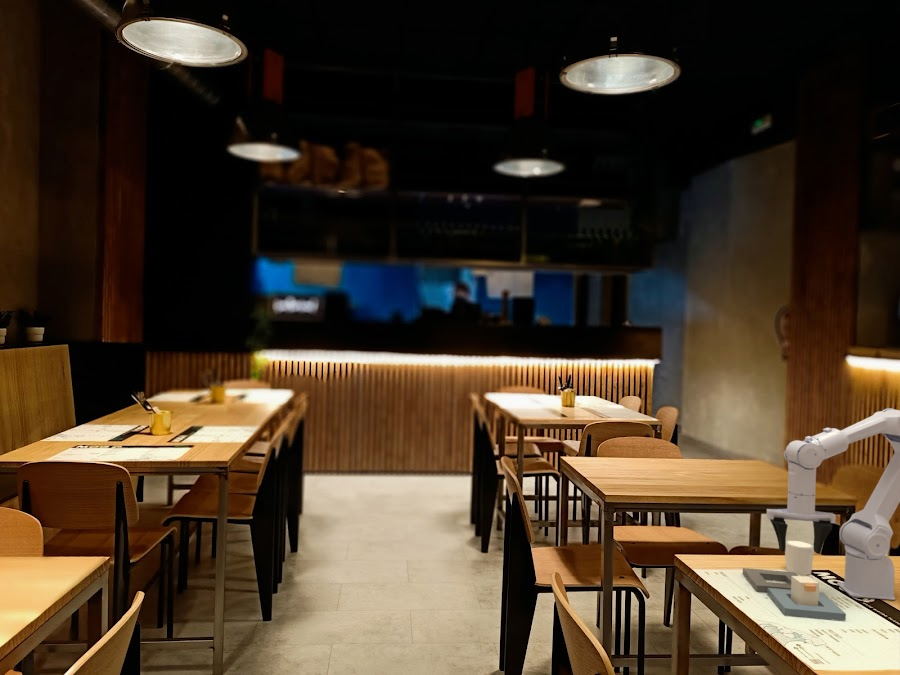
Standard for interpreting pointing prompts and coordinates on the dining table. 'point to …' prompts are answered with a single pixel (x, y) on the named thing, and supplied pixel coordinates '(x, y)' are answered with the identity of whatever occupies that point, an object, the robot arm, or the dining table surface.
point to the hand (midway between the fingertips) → (799, 551)
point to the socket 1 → (760, 576)
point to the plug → (804, 590)
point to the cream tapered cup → (799, 557)
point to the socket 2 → (806, 606)
